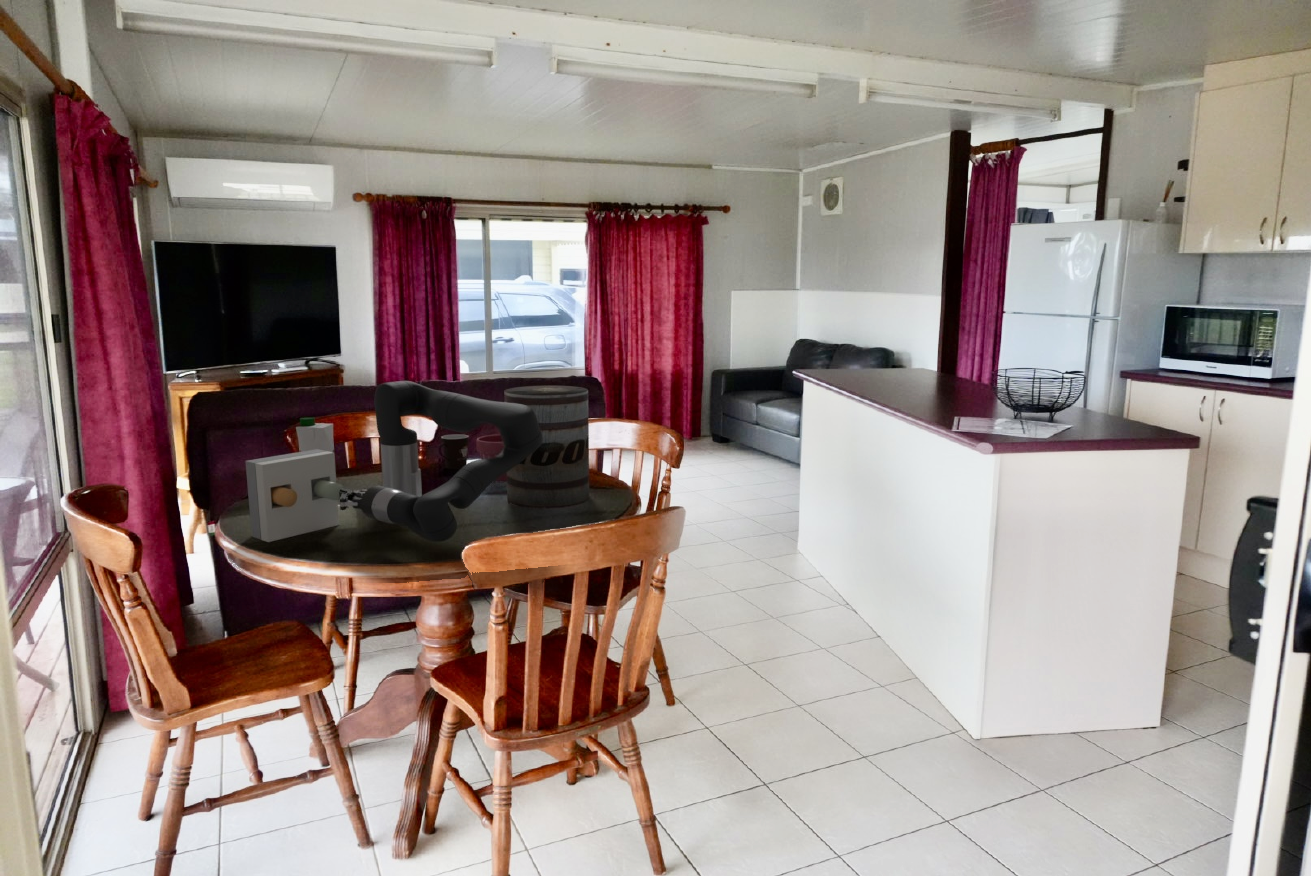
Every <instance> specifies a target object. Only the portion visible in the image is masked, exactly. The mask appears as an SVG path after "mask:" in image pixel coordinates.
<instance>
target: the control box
mask: <svg viewBox="0 0 1311 876" xmlns="http://www.w3.org/2000/svg"><path fill="white" fill-rule="evenodd" d="M335 457H336V456H335V452H334V453H333V452H328V451H323V450H319V449H316V450H309V451H303V452H292V453H286V454H279V455H273V456H268V457H267V456H266V457H262V458H261V457H260V458H255V459H248V460H245V472H246V481H247V483H246V484H247V495H248V507H249V518H250V531H251V537H252V538H254V539H258V540H261V541H263V542H267V543H271V542H274V541H278V540H279V541H280V540H283V539H287V538H290V537H295V536H300V535H303V534H307V533H312V532H315V531H321V530H325V529H328V528H331V527H336V526H340V520H339V505H338V504H339V503H338V500H331V499H327V498H324V497H320V496H317V495H316V494H315V492H314V487H315V484H316V483H317V482H318V481H320V480H326V481H330V482H334V483H337V474H336V472H337V471H336V458H335ZM276 486H280V487H283V488H287V489H291V490H294V491H295V492H296V494H297V501H296V503H295V504H294V505H293V506H291V507H285V506H282V505H279V504H275V503H272V502H271V489H270V488H271V487H276Z"/></svg>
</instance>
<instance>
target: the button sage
mask: <svg viewBox="0 0 1311 876" xmlns="http://www.w3.org/2000/svg"><path fill="white" fill-rule="evenodd" d="M341 489H345V488H344V486H343V485H342V484H340V483H338V482H336V483H334V482H330V481H326V480H320V481H318V482H317V483H316V484H315V487H314V492H315V494H316V495H317V496H320V497H324V498H327V499H331V500H337V501H340V497H339V492H340V490H341Z"/></svg>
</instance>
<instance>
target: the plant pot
mask: <svg viewBox="0 0 1311 876" xmlns="http://www.w3.org/2000/svg"><path fill="white" fill-rule="evenodd" d="M504 447H505V445H504V443H503V441H502V438H501V435H500V433H499V434H489V435H483V436H480V437H477V438H476V451H477V452H478V453H479V455H480V458H481V459H489V458H493V457H496V456H497V455H498V454H499V453H500V452H501V451H502V450H503V448H504ZM481 459H480V460H481ZM505 482H506V483H507V472H506V473H505V474H503V475H502V476H500V477H499V478H498V479H496V480H495V481H494V482H493V483H505Z"/></svg>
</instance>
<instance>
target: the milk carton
mask: <svg viewBox="0 0 1311 876" xmlns="http://www.w3.org/2000/svg"><path fill="white" fill-rule="evenodd" d="M295 430H296V435H297V440H298V449H299V452H303V451H309V450H316V449H319V450H323V451H328V452H333V453H334V454H335V447H334V423H324V422H321V423H320V422H317V423H316V418H315V417H312V416H311V417H310V416H309V417H308V416H307V417H300V418H299V425H298V426H296V427H295Z"/></svg>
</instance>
